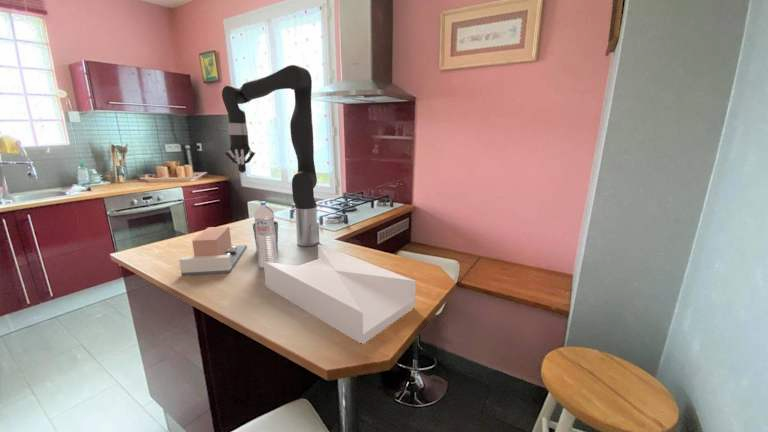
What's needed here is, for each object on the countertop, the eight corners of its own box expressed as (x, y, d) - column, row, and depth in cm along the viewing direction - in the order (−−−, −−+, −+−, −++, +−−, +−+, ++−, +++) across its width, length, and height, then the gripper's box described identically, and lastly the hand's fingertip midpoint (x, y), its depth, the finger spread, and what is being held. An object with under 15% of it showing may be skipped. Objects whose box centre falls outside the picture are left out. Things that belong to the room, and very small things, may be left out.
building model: (414, 309, 94) (415, 280, 91) (362, 346, 77) (362, 312, 75) (318, 267, 122) (317, 243, 119) (265, 287, 105) (263, 261, 103)
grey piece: (207, 249, 136) (205, 235, 135) (246, 247, 139) (245, 234, 137) (181, 275, 112) (179, 259, 110) (230, 272, 114) (228, 257, 113)
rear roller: (237, 244, 130) (235, 247, 128) (238, 251, 131) (236, 254, 129) (203, 246, 128) (201, 249, 125) (204, 252, 129) (202, 256, 126)
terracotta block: (210, 246, 129) (208, 227, 127) (231, 245, 130) (229, 226, 128) (195, 261, 114) (192, 240, 111) (219, 260, 115) (216, 239, 113)
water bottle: (281, 263, 123) (277, 201, 116) (268, 270, 117) (262, 205, 110) (268, 260, 125) (263, 199, 119) (254, 267, 119) (248, 202, 113)
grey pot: (253, 255, 130) (250, 227, 127) (257, 246, 140) (254, 220, 137) (278, 253, 133) (276, 226, 129) (281, 245, 142) (279, 219, 139)
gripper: (220, 133, 137) (224, 173, 141) (252, 134, 139) (255, 173, 143) (225, 133, 144) (229, 171, 148) (255, 134, 146) (259, 171, 151)
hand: (242, 172), depth 146 cm, fingers closed
